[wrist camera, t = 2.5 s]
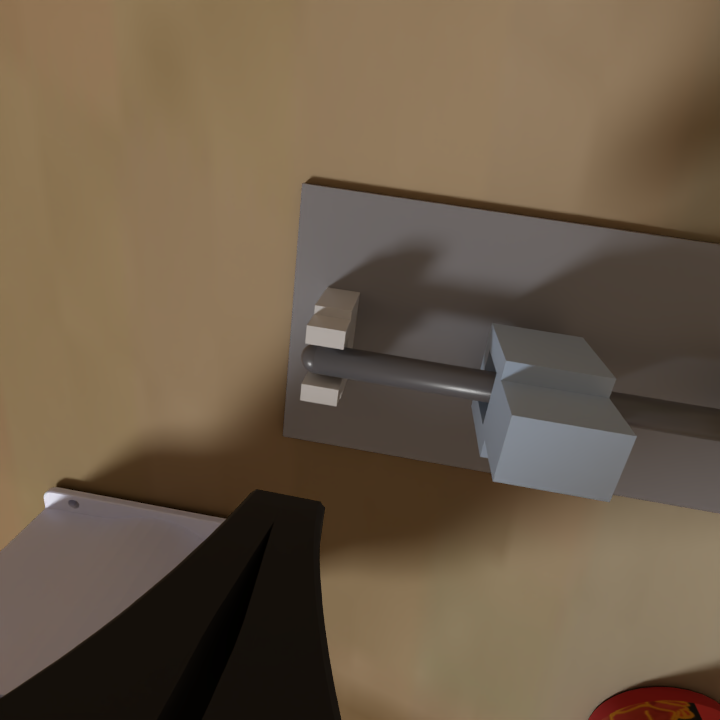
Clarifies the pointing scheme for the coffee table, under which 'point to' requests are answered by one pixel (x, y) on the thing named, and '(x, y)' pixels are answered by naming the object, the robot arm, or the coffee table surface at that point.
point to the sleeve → (550, 415)
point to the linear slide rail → (500, 306)
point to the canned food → (658, 705)
